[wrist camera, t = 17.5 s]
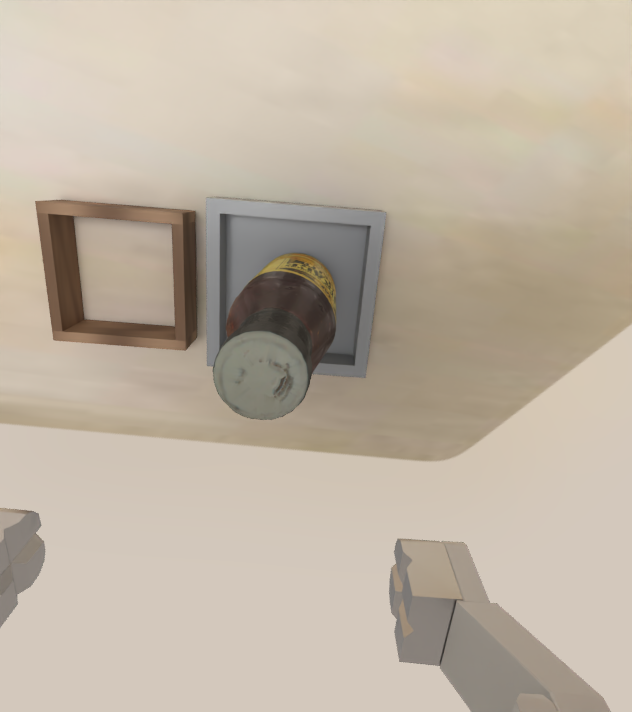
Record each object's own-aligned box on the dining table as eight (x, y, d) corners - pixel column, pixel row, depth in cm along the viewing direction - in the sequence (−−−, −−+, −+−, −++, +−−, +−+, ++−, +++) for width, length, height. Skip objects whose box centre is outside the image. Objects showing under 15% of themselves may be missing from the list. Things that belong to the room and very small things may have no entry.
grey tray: (380, 210, 36) (386, 212, 33) (362, 362, 40) (365, 378, 37) (216, 196, 36) (205, 197, 32) (216, 351, 40) (206, 365, 37)
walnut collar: (195, 210, 36) (182, 213, 33) (197, 337, 40) (185, 350, 37) (61, 200, 36) (35, 201, 33) (75, 327, 40) (53, 340, 36)
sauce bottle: (349, 297, 37) (377, 407, 19) (288, 338, 39) (257, 478, 20) (303, 230, 36) (284, 277, 17) (241, 275, 37) (158, 365, 18)
